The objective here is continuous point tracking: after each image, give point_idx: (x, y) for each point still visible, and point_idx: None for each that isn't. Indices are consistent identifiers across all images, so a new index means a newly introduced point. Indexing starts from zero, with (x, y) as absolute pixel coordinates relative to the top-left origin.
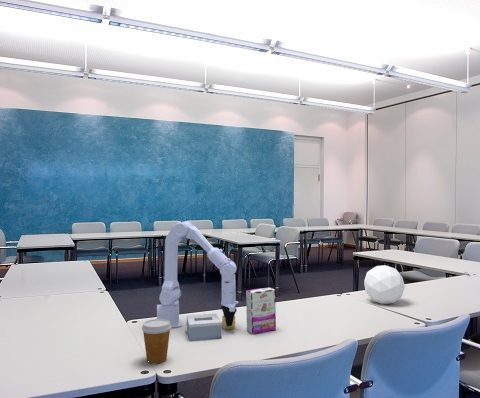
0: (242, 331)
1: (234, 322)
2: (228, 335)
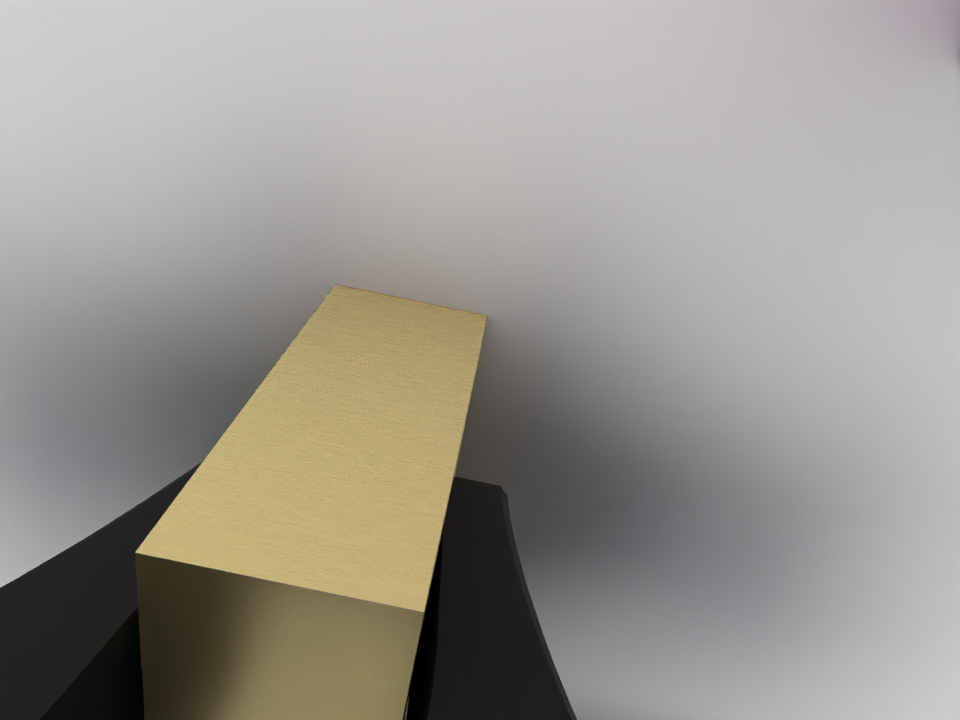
0: (866, 227)
1: (457, 445)
2: (901, 656)
